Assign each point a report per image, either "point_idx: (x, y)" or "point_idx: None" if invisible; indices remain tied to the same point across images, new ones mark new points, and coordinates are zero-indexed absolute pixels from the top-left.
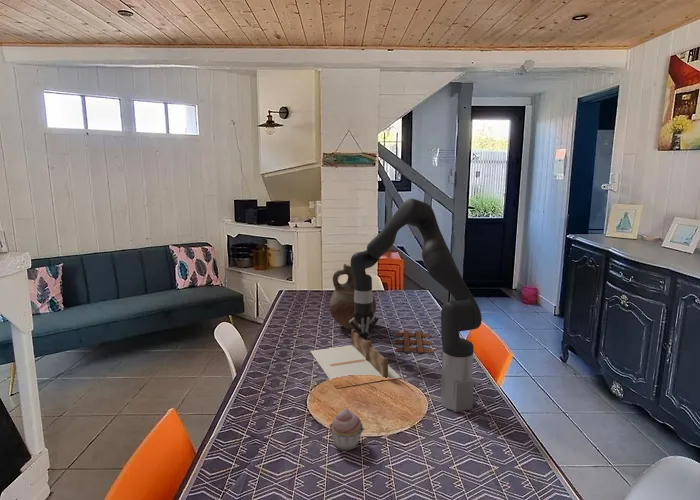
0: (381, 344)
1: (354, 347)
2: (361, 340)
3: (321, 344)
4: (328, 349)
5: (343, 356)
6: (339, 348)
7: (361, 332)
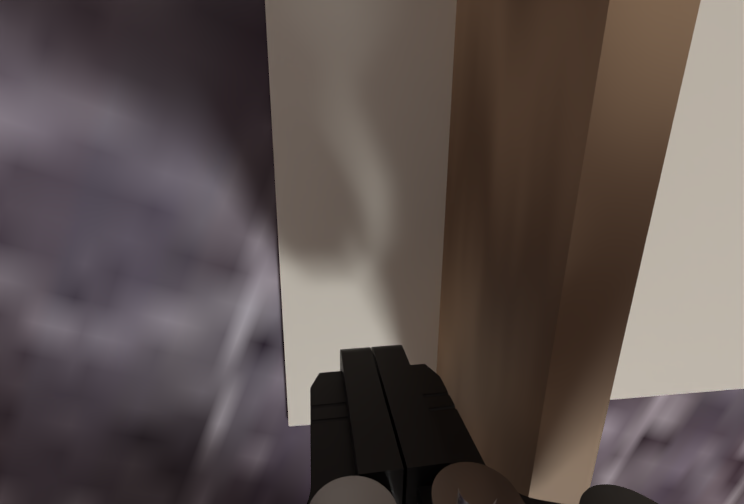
0: (73, 358)
1: None
2: (658, 95)
3: (692, 490)
4: (726, 366)
5: (715, 128)
6: (621, 362)
7: (498, 487)
